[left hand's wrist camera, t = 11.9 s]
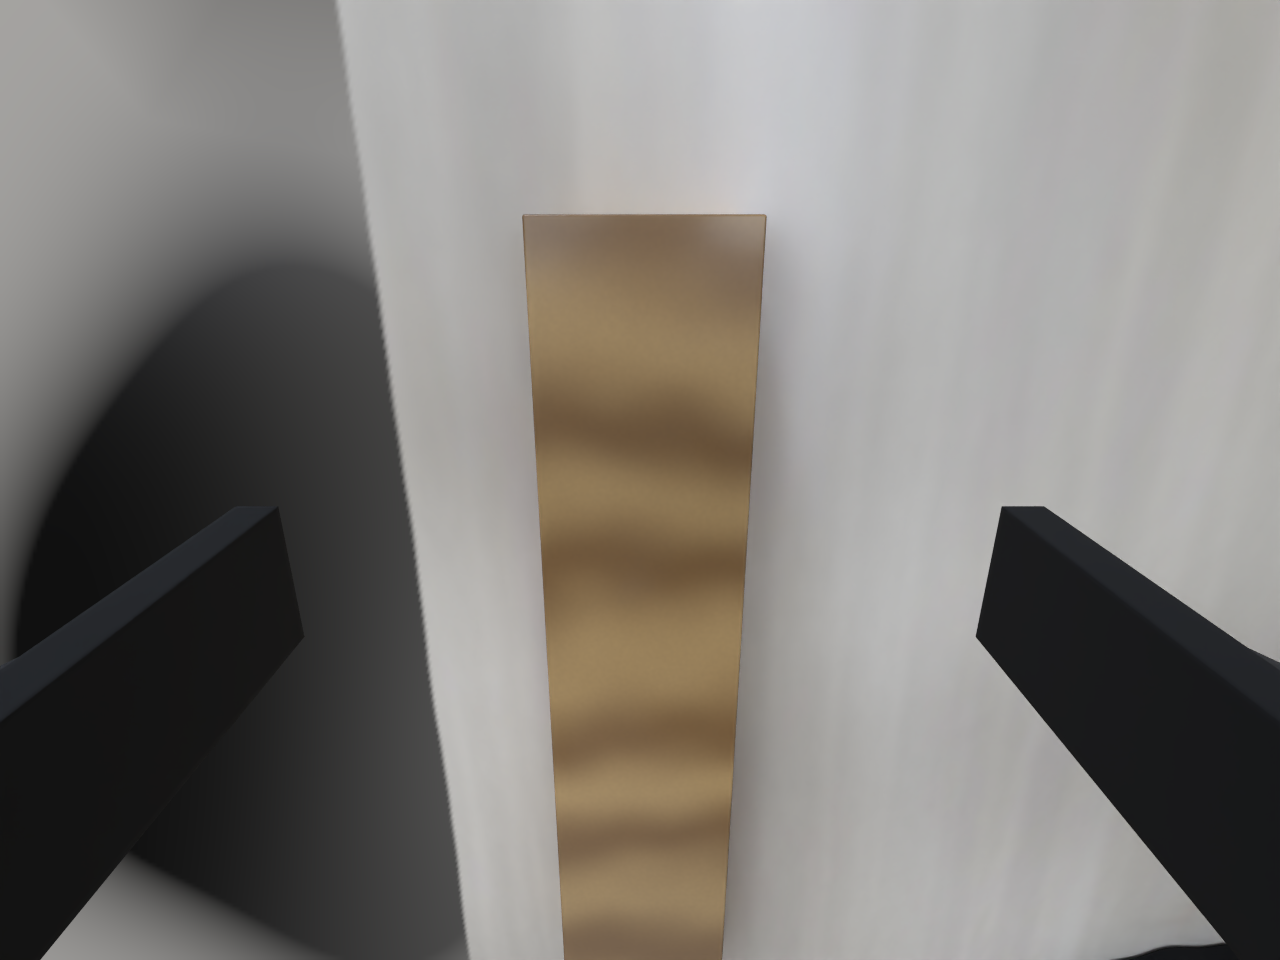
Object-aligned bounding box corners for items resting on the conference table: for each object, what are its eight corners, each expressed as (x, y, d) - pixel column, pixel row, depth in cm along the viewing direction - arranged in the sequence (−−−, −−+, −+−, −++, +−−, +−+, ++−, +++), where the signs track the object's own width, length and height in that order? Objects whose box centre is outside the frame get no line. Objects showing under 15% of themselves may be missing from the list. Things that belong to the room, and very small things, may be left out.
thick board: (544, 216, 34) (521, 214, 27) (742, 216, 34) (767, 214, 27) (577, 933, 51) (568, 1038, 45) (707, 933, 51) (717, 1038, 45)
